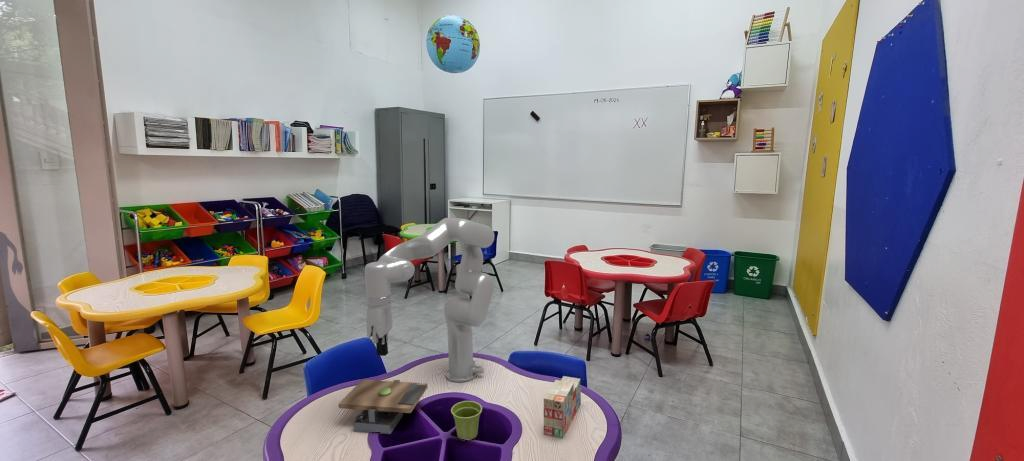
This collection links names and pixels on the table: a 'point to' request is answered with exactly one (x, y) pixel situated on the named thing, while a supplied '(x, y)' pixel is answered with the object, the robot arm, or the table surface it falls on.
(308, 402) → the table surface
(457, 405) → the plant pot
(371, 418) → the base
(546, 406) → the stack of blocks
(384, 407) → the plate
